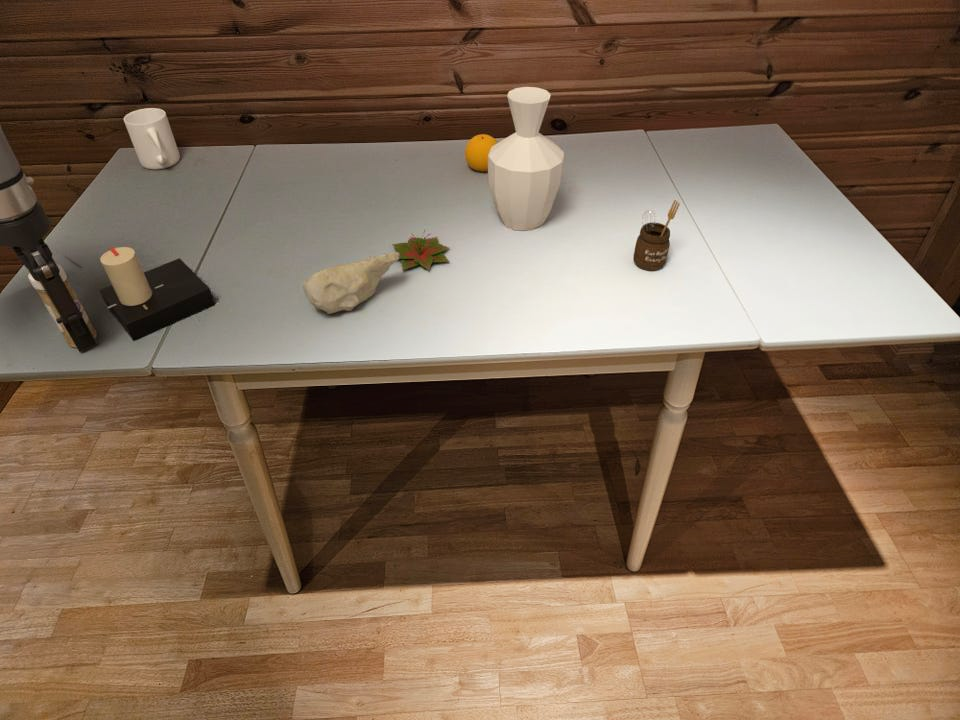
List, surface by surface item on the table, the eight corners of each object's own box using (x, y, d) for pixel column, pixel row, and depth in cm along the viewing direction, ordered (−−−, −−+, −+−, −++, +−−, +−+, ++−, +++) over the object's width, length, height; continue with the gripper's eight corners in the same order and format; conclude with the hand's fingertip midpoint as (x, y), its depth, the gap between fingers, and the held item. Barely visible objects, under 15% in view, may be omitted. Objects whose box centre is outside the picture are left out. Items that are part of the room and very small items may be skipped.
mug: (148, 180, 143) (130, 133, 136) (137, 159, 151) (120, 113, 143) (188, 170, 147) (173, 124, 139) (176, 150, 154) (160, 104, 147)
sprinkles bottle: (93, 347, 104) (55, 278, 95) (63, 350, 103) (22, 281, 94) (101, 328, 107) (65, 260, 98) (72, 331, 107) (33, 263, 97)
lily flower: (382, 244, 125) (379, 223, 122) (442, 233, 128) (441, 213, 124) (395, 280, 117) (393, 258, 114) (460, 268, 119) (459, 246, 116)
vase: (529, 195, 138) (536, 74, 121) (573, 225, 130) (587, 99, 113) (473, 215, 132) (472, 91, 115) (515, 248, 124) (521, 118, 107)
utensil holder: (626, 257, 122) (637, 199, 113) (656, 250, 123) (668, 193, 115) (642, 274, 118) (654, 216, 109) (673, 267, 119) (687, 209, 111)
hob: (129, 343, 105) (121, 325, 102) (103, 308, 111) (94, 290, 109) (215, 304, 112) (209, 287, 109) (185, 274, 118) (179, 257, 116)
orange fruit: (504, 162, 149) (505, 130, 144) (494, 178, 144) (495, 145, 139) (471, 157, 151) (471, 125, 146) (460, 173, 146) (459, 140, 140)
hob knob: (157, 297, 107) (138, 254, 102) (126, 310, 105) (106, 267, 99) (145, 283, 110) (126, 241, 104) (115, 295, 108) (94, 253, 102)
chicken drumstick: (295, 331, 110) (345, 305, 99) (279, 289, 109) (327, 260, 99) (364, 311, 121) (415, 286, 111) (349, 273, 120) (400, 245, 110)
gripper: (60, 226, 86) (126, 356, 102) (18, 175, 96) (85, 300, 112) (-3, 248, 82) (76, 378, 98) (-39, 192, 92) (38, 319, 108)
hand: (80, 336), depth 105 cm, fingers open, 6 cm apart
